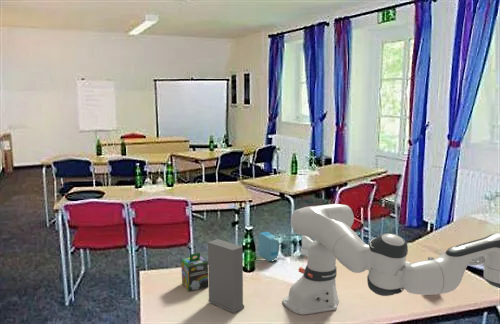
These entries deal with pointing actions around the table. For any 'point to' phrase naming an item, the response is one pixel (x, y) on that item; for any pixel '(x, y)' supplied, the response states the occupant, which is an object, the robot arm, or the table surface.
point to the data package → (268, 246)
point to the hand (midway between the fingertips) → (461, 247)
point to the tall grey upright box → (225, 275)
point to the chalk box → (194, 272)
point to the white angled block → (305, 245)
